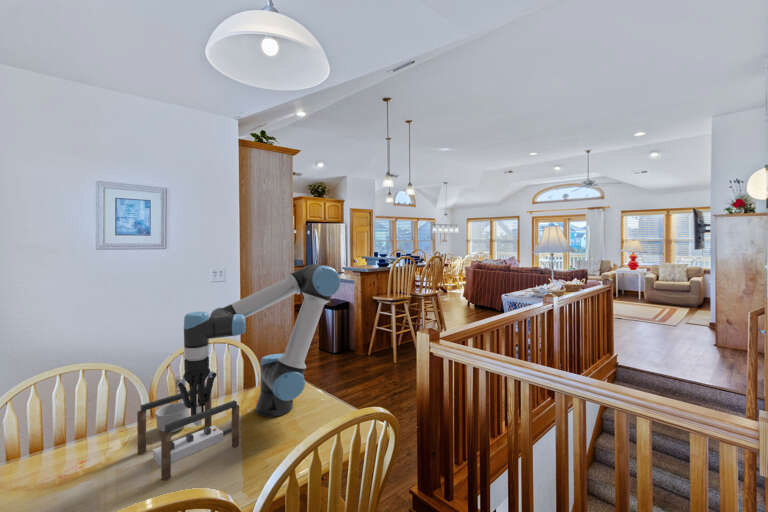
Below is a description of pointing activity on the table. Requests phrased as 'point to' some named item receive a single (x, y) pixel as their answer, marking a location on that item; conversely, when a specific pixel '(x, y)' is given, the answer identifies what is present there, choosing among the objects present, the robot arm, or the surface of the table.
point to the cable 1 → (164, 401)
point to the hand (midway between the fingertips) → (197, 424)
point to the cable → (199, 416)
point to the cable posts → (167, 437)
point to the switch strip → (192, 443)
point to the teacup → (171, 415)
